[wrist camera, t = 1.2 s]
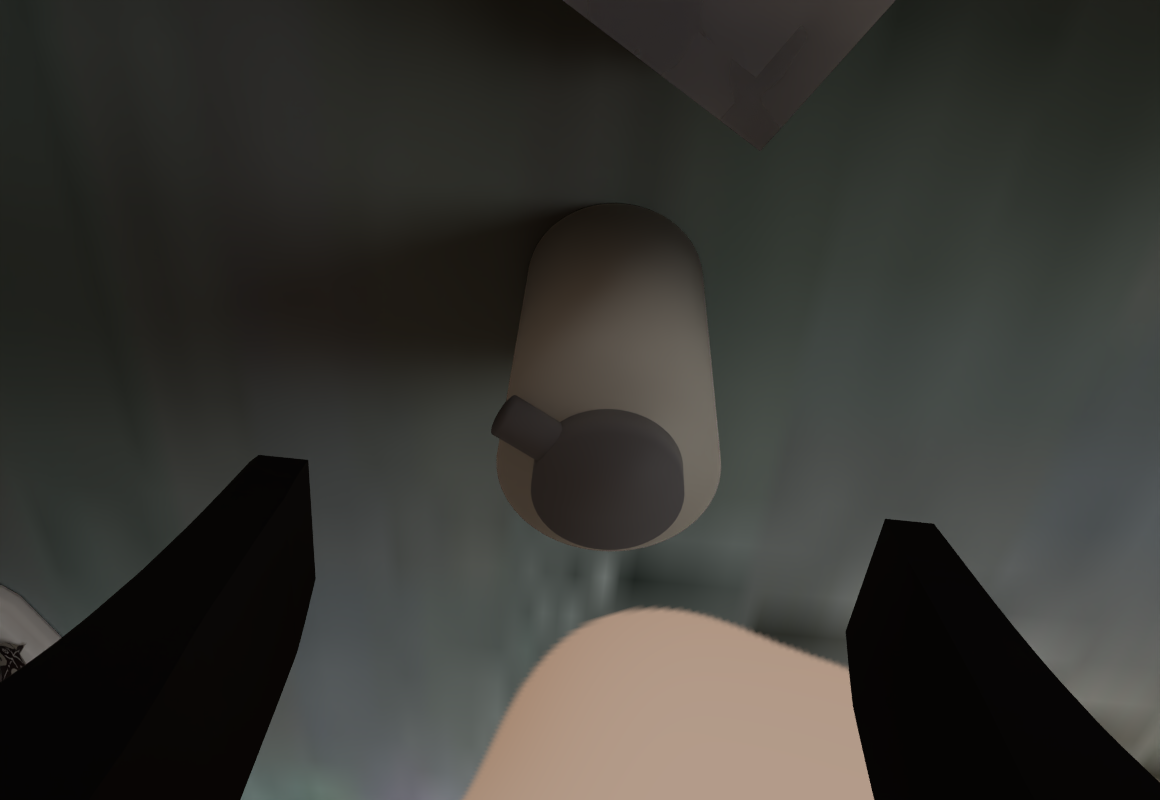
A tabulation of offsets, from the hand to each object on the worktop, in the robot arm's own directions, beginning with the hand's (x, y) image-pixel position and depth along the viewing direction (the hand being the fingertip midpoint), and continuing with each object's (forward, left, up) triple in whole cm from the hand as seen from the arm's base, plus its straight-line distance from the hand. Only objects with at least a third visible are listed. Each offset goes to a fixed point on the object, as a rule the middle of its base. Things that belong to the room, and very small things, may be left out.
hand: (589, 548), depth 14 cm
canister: (-1, +1, -10) cm, 10 cm away
